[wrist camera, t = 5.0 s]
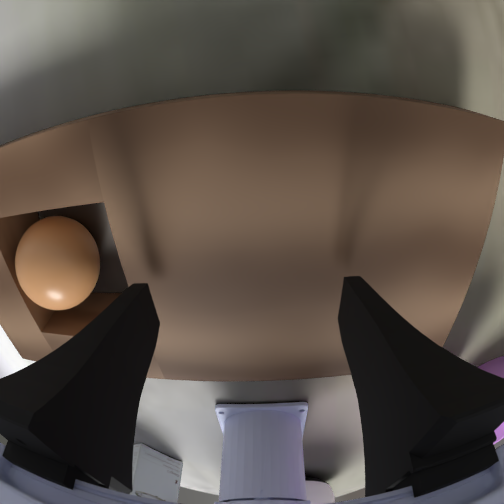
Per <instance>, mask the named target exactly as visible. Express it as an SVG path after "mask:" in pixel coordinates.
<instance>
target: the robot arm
mask: <svg viewBox="0 0 504 504" xmlns="http://www.w3.org/2000/svg"><path fill="white" fill-rule="evenodd" d="M338 324H339V330H340V336H341V341H342V345H343V348H344V352H345V355H346V358H347V362H348V365H349V368H350V372H351V375H352V379H353V382H354V386H355V389H356V393H357V398H358V403H359V410H360V417H361V424H362V433H363V442H364V456H365V497H364V498H359V499H353V500H347V501H341V502H334V503H327V504H504V444H503V445H501V446H499V447H498V448H496V449H495V447H494V445H493V442H495V441H496V439H497V437H496V434H495V432H494V431H495V430H496V429H497V428H498V427H499V426H500V425H501V424H502V423H503V422H504V378H502V377H499V376H497V375H494V374H492V373H489V372H487V371H484V370H482V369H480V368H478V367H476V366H474V365H472V364H470V363H468V362H466V361H464V360H462V359H460V358H459V357H457V356H455V355H453V354H452V353H450V352H449V351H447V350H445V349H444V348H442V347H441V346H439V345H438V344H436V343H435V342H433V341H432V340H431V339H429V338H428V337H427V336H425V335H424V334H422V333H421V332H420V331H419V330H417V329H416V328H415V327H414V326H412V325H411V324H410V323H409V322H408V321H407V320H405V319H404V318H403V317H402V316H401V315H400V314H399V313H398V312H396V311H395V310H394V309H393V308H392V307H391V306H390V305H389V304H388V303H387V302H386V301H385V300H384V299H383V298H382V297H381V296H380V295H379V294H378V293H377V292H376V291H375V290H374V289H373V288H372V287H371V286H370V285H369V284H368V283H367V282H366V281H365V280H364V279H363V278H362V277H361V276H348V277H344V280H343V287H342V294H341V300H340V307H339V313H338ZM159 327H160V321H159V318H158V315H157V312H156V308H155V305H154V302H153V299H152V296H151V292H150V289H149V286H148V283H133V284H132V285H131V286H129V287H128V288H127V289H126V290H125V291H124V292H123V293H122V294H120V295H119V296H118V297H117V298H116V299H115V300H114V301H113V302H112V303H111V304H110V305H109V306H108V307H107V308H105V309H104V310H103V311H102V312H101V313H100V314H99V315H98V316H97V317H96V318H95V319H93V320H92V321H91V322H90V323H89V324H88V325H87V326H85V327H84V328H83V329H82V330H81V331H80V332H78V333H77V334H76V335H75V336H73V337H72V338H71V339H70V340H68V341H67V342H66V343H64V344H63V345H61V346H60V347H59V348H57V349H56V350H54V351H53V352H51V353H49V354H48V355H46V356H45V357H43V358H41V359H40V360H38V361H37V362H35V363H33V364H31V365H29V366H27V367H26V368H24V369H22V370H20V371H18V372H15V373H13V374H11V375H8V376H6V377H4V378H1V379H0V434H1V435H2V436H4V437H5V438H6V439H7V440H8V442H7V445H6V446H5V445H3V444H2V443H1V442H0V504H181V503H174V502H167V501H161V500H155V499H150V498H145V497H140V496H135V495H130V493H131V492H132V491H133V487H132V462H133V446H134V435H135V427H136V419H137V413H138V407H139V401H140V397H141V393H142V390H143V386H144V383H145V380H146V377H147V373H148V370H149V367H150V364H151V361H152V357H153V354H154V351H155V348H156V344H157V339H158V333H159ZM215 411H216V414H217V417H218V420H219V423H220V427H221V430H222V433H223V450H222V464H221V478H220V493H219V502H214V504H311V502H310V500H307V498H306V483H305V469H304V456H303V443H302V437H303V432H304V427H305V422H306V417H307V411H308V403H307V402H293V403H272V404H217V405H216V406H215Z"/></svg>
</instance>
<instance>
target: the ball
mask: <svg viewBox="0 0 504 504" xmlns="http://www.w3.org/2000/svg"><path fill="white" fill-rule="evenodd" d="M15 270H16V275H17V278H18V281H19V284H20V286H21V288H22V289H23V291H24V292H25V294H26V295H27V296H28V297H29V298H30V299H31V300H32V301H33V302H35V303H36V304H38V305H39V306H42V307H44V308H47V309H51V310H65V309H69V308H72V307H74V306H77V305H78V304H80V303H81V302H83V301H84V300H85V299H86V298H87V297H88V296H89V295H90V293H91V292H92V290H93V289H94V287H95V285H96V282H97V280H98V276H99V272H100V255H99V251H98V247H97V244H96V242H95V240H94V238H93V236H92V235H91V234H90V232H89V231H88V230H87V229H86V228H85V227H84V226H83V225H82V224H80V223H79V222H77V221H76V220H74V219H71V218H68V217H64V216H50V217H46V218H43V219H41V220H39V221H37V222H35V223H34V224H33V225H32V226H30V227H29V228H28V229H27V231H26V232H25V233H24V234H23V236H22V238H21V239H20V242H19V244H18V247H17V250H16V256H15Z"/></svg>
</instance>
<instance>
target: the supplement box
mask: <svg viewBox="0 0 504 504" xmlns="http://www.w3.org/2000/svg"><path fill="white" fill-rule="evenodd" d="M182 467H183V462H181V461H177V460H175V459H173V458H170V457H168V456H166V455H164V454H162V453H160V452H158V451H155V450H153V449H151V448H149V447H148V446H146V445H144V444H143V443H140V444H134V446H133V462H132V487H133V491H132V492H131V493H130V495H135V496H140V497H145V498H150V499H155V500H161V501H167V502H174V503H177V502H178V495H179V488H180V481H181V474H182Z"/></svg>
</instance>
